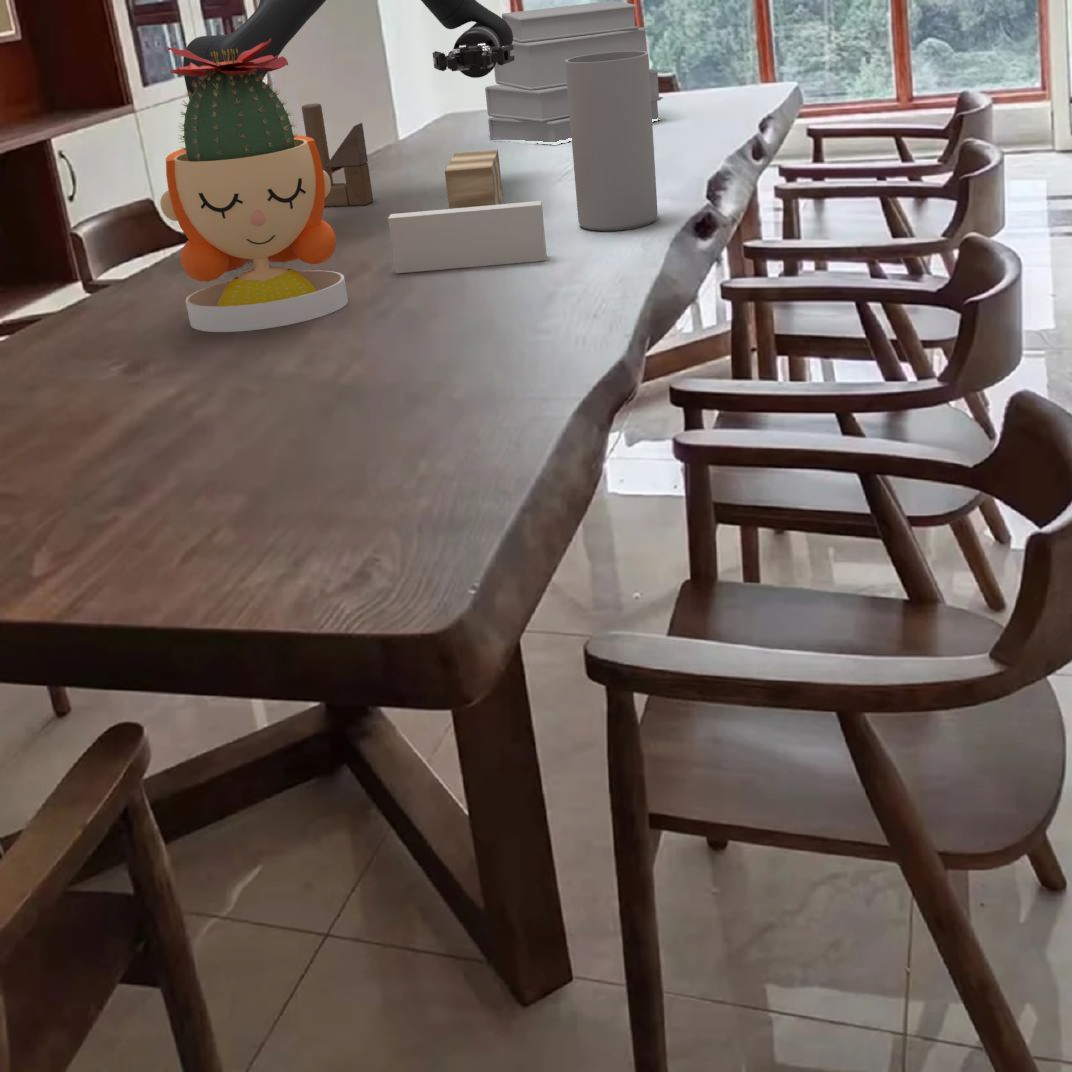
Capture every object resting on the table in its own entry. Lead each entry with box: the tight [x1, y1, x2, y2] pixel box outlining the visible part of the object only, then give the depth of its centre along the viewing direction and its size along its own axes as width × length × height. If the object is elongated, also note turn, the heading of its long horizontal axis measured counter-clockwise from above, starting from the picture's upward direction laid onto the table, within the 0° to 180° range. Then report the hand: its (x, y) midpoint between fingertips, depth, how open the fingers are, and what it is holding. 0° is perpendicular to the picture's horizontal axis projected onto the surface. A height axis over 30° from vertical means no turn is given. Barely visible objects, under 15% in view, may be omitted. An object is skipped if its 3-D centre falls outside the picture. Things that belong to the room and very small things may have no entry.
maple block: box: [444, 149, 505, 209], centre depth 218 cm, size 16×7×12 cm, turn 177°
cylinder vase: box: [565, 51, 659, 232], centre depth 214 cm, size 12×12×25 cm
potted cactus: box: [159, 39, 349, 333], centre depth 184 cm, size 22×22×35 cm
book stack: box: [484, 0, 664, 142], centre depth 307 cm, size 30×35×26 cm
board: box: [387, 200, 548, 274], centre depth 202 cm, size 3×22×8 cm, turn 87°
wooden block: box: [301, 102, 374, 208], centre depth 253 cm, size 4×11×18 cm, turn 73°
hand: (468, 62), depth 221 cm, fingers open, 4 cm apart
